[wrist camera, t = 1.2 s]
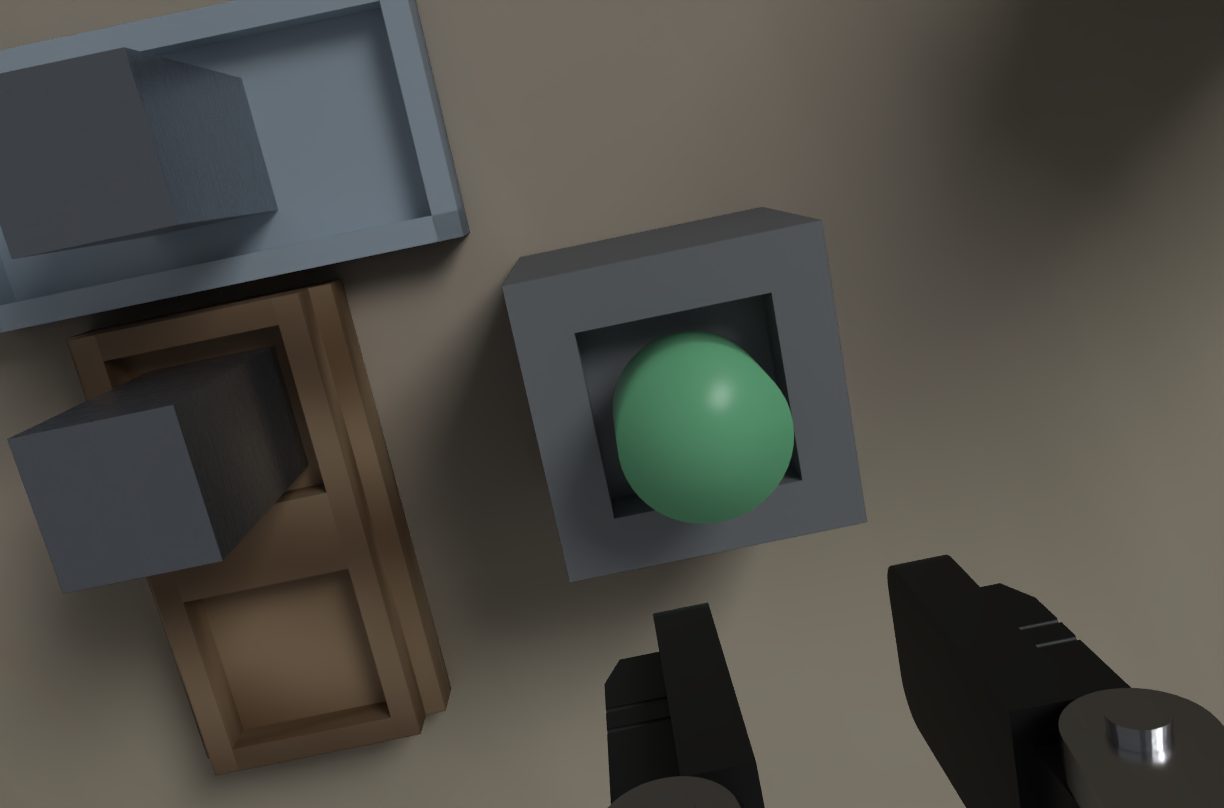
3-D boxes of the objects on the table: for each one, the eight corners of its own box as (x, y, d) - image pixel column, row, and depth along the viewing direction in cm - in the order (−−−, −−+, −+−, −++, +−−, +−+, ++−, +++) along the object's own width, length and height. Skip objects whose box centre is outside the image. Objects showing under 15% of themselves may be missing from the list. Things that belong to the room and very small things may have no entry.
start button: (598, 348, 25) (601, 372, 22) (755, 316, 25) (778, 335, 22) (629, 497, 26) (635, 539, 23) (780, 466, 26) (806, 504, 23)
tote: (-77, 80, 30) (-117, 74, 29) (410, -23, 30) (399, -35, 28) (10, 327, 32) (-22, 337, 30) (470, 232, 32) (463, 236, 30)
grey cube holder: (520, 257, 32) (502, 286, 24) (762, 207, 32) (821, 219, 24) (571, 487, 34) (570, 582, 26) (800, 440, 34) (867, 522, 26)
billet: (112, 105, 30) (-49, 83, 22) (241, 78, 30) (124, 46, 22) (153, 235, 31) (11, 259, 23) (278, 210, 31) (178, 224, 23)
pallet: (89, 331, 32) (45, 345, 30) (341, 278, 32) (320, 288, 29) (223, 734, 36) (195, 779, 33) (451, 688, 36) (440, 729, 33)
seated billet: (149, 371, 31) (6, 439, 23) (273, 345, 31) (172, 404, 23) (188, 489, 32) (63, 593, 24) (308, 465, 32) (222, 561, 24)
